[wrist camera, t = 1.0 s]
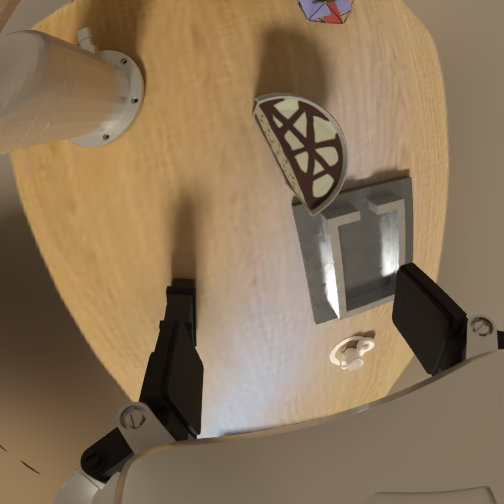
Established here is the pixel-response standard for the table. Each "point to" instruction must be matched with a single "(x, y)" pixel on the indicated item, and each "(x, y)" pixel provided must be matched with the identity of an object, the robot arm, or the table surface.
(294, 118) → the food container
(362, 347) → the white curved piece
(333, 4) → the geometric puzzle
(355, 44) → the table surface
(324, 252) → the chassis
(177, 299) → the black tall block
